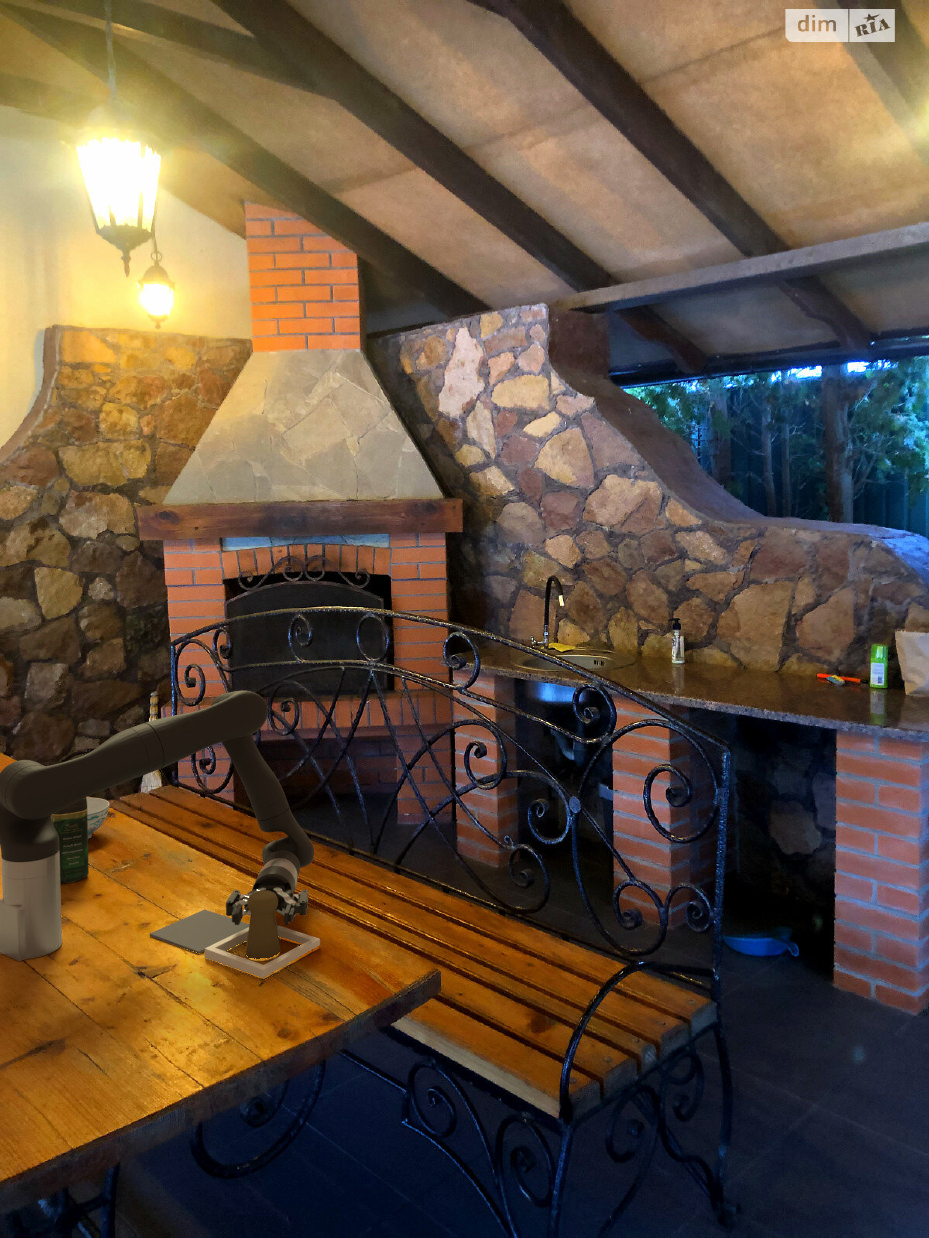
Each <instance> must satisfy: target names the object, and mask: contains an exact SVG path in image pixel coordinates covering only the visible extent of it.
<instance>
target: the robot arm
mask: <svg viewBox="0 0 929 1238" xmlns="http://www.w3.org/2000/svg"><path fill="white" fill-rule="evenodd" d="M268 715H269V707H268V704H267V702H266V700H265V699H264V698H263V697H262V696H261V695H260V694H258V693H256V692H253V691H251V690H235V691H229V692H225V693H223V694H219V695H218V696H216V697H215V698H214V700H213V701H212V703H211V705H210V706H207V707H205V708H202V709H200V710H199V709H198V710H195V711H192V712H187V713H181V714H175V715H171V716H165V717H162V718H157V719H153V720H151V721H150V720H149V721H146V722H143V723H141V724H138V725H136V726H135V725H134V726H132V727H129V728H127V729H123V730H122V731H120V732H119V731H118V732H117V733H116V734H114V735H112V736H111V737H109V738H107V740H105V741H103V743H101V744H99V746H97V747H96V748H94V749H93V750H91V751H90V752H88V753H85V754H84V755H82V756H79V757H77V758H73V759H70V760H69V759H68V760H67V761H63V762H60V763H56V764H52V765H46V766H45V765H43V764H41V763H39V762H37V761H35V760H29V759H21V760H16V761H13V762H11V763H9V764H7V766H5V767H4V768H3V769H2V770H1V771H0V854H1V855H0V856H1V858H0V859H1V883H2V884H1V885H2V886H1V889H2V890H1V891H2V898H0V954H2V955H4V956H7V957H9V958H11V959H13V960H16V961H18V962H21V961H24V960H27V959H34V958H35V959H36V958H39V957H43V956H46V955H48V954H51V953H53V952H54V951H57V950H58V949H59V948H61V946H62V944H63V936H62V935H63V930H62V929H63V928H62V902H61V901H62V898H61V894H62V893H61V882H60V854H59V836H58V834H57V832H56V830H55V828H54V825H53V823H52V819H51V815H52V814H54V813H56V812H58V811H60V810H62V809H64V808H66V807H68V806H70V805H72V804H74V803H76V802H78V801H80V800H82V799H84V798H86V797H90V796H92V795H94V794H95V793H99V792H102V791H103V790H107V789H110V788H113V787H115V786H118V785H122V784H123V783H126V782H129V781H132V780H134V779H137V778H140V777H143V776H145V775H148V774H151V773H153V772H156V771H158V770H159V771H160V770H161V769H163V768H165V767H168V766H170V765H172V764H175V763H177V762H179V761H182V760H183V759H186V758H188V757H190V756H192V755H194V754H196V753H198V752H200V751H202V750H204V749H206V748H209V747H211V746H214V745H217V744H220V743H221V744H222V746H223V747H224V749H225V752H226V753H227V754H228V757H229V758H230V761H231V762H232V763H233V766H234V768H235V770H236V771H237V774H238V776H239V778H240V780H241V782H242V784H243V787H244V789H245V791H246V795H247V797H248V800H249V801H250V802H249V803H250V805H251V807H252V810H253V813H254V816H255V818H256V820H257V824H258V826H259V828H260V830H261V831H262V832H264V833H274V832H275V833H276V832H277V833H278V832H280V833H283V834H285V835H286V836H285V837H282V838H279V839H276V840H273V841H270V842H269V843H267V844H266V845H265V846H264V847H263V848H262V851H261V855H262V856H261V858H262V863H263V867H262V868H261V870H260V871H259V873H258V875H257V877H256V879H255V881H254V884H253V886H252V888H251V891H249V892H247V894H243V893H242V894H241V893H240V891H241V890H239V889H234V890H232V892H231V893H230V895H229V897H228V898H227V900H226V901H225V916H226V917H231V918H232V922H235V925H239V924H240V922H242V919H243V917H245V916H246V915H248V916H251V912H250V911H249V909H248V899H249V897H250V896H251V894H253V893H255V892H257V891H263V890H265V891H271V892H274V893H275V894H276V896H277V899H278V906H277V909H276V910H275V913H276V912H278V913H279V914H280V915H282V916H283V924H284V926H288V925H289V924H290V923H292V922H293V921H294V919H295V917H296V915H298V914H299V915H300V916H303V917H304V916H306V915H307V912H308V904H309V890H307V889H302V890H300V892H298V893H294V892H295V891H296V888H297V885H298V884H297V883H298V878H299V874H300V870H301V868H305V867H307V866H309V865H311V863H312V862H313V860H314V858H315V848H314V844H313V842H312V841H311V839H310V838H309V836H308V835H307V834H306V833H305V831H304V829H303V828H302V827H301V825H300V824H299V822H298V821H297V820H296V818H295V816H294V815H293V812H292V810H291V808H290V805H289V801H288V799H287V797H286V794H285V792H284V788H283V786H282V785H281V782H280V781H279V779H278V777H277V775H276V774H275V773H274V772H273V770H272V769H271V767H270V766H269V765H268V763H267V762H266V761H265V759H264V758H263V756H262V755H261V753H260V751H259V748H258V747H257V745H256V743H255V740H254V737H253V735H254V734H255V733H257V732H259V730H260V729H261V728H262V727H263V726H264V724H265V723H266V721H267V719H268Z"/></svg>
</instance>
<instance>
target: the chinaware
mask: <svg viewBox="0 0 929 1238" xmlns="http://www.w3.org/2000/svg"><path fill="white" fill-rule="evenodd" d="M86 798H87V808H88V810H87V819H88V840H89V838H90V839H91V838H92V834H94V833H95V832H96V831H97V830H98V829H100V827H102V824H103V823H104V822H105V821H106V819H107V816H108V813H109V810H110V809H109V808H110V802H109V801H108V800H106V799H104V798H99V797H90V796H88V797H86Z"/></svg>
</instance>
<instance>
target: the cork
mask: <svg viewBox="0 0 929 1238" xmlns="http://www.w3.org/2000/svg"><path fill="white" fill-rule="evenodd" d="M277 906H278V899H277V896H276V894H275V893H274V892H271V891H265V890H263V891H257V892H255V893H253V894H251V896H250V897H249V899H248V909H249V911H250V912H251V915H250V918H249V919H250V920H249V923H248V924H249V932H248V940H247V942H246V949H245V956H246V955H247V956H248V958H254V959H255V958H256V959H260V958H270V957H273V956H274V955H277V954H278V953H279V952H280V951H281V945H280V939H279V937H278V930H277V925H278V924H277V918H276V912H275V910H276V909H277ZM248 958H247V959H248Z"/></svg>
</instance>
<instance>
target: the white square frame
mask: <svg viewBox="0 0 929 1238" xmlns="http://www.w3.org/2000/svg"><path fill="white" fill-rule="evenodd" d="M277 930H278V936H279V937H281V938H286V939H289V940H292V941H296V942H299V943H302V945H300V946H299V945H297V946H296V947H295V948H293V949H291V950H289V951H286V952H285V953H283V954H281V955H279V956H278V957H277V958H275V959H273V960H269V962H267V963H266V964H261V963H260V962H257V961H252V960H249V959H248V958H246V957H243V956H242V957H241V956H239V955H236V954H234V953H230V952H228V951H227V950H229V949H230V948H233V949H234V947H235V946H236V945H238V944H241V943H243V942H244V941H247V940H248V932H249V927H248V928H246V929H244V930H242V931H240V932H238V933H236V934H234V935H231V936H229V937H227V938H225V939H223V940H221V941H219V942H217V943H215V944H213V945H211V946H209V947H207V948H205V952H204V959H205V958H208V959H210V960H213V961H217V962H219V963H222V964H223V965H222V966H224V965H228V966H230V967H232V968H236V969H239V970H241V971H243V972H248V973H250V974H253V975H256V976H259V977H261V978H265V977H266V976H268V975H270V974H271V973H272V972H274V971H276V970H278V969H279V968H281V967H283V966H284V965H287V964H288V963H289V962H291V961H293V960H295V959H297V958H299V957H300V956H301V955H304V954H305V953H307V952H308V951H311V950H312V949H314V948H316V947H317V946H319V945H320V946H321V938H319V937H315V936H313V935H309V934H306V933H303V932H300V931H296V930H294V929H291V928H287V927H284V926H282V925H278V924H277ZM243 944H244V943H243ZM241 945H242V944H241ZM235 948H236V947H235ZM226 951H227V952H226ZM229 951H230V950H229ZM208 959H207V960H208ZM210 960H209V961H210ZM213 961H212V962H213ZM232 968H231V969H232ZM243 972H242V973H243Z"/></svg>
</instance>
